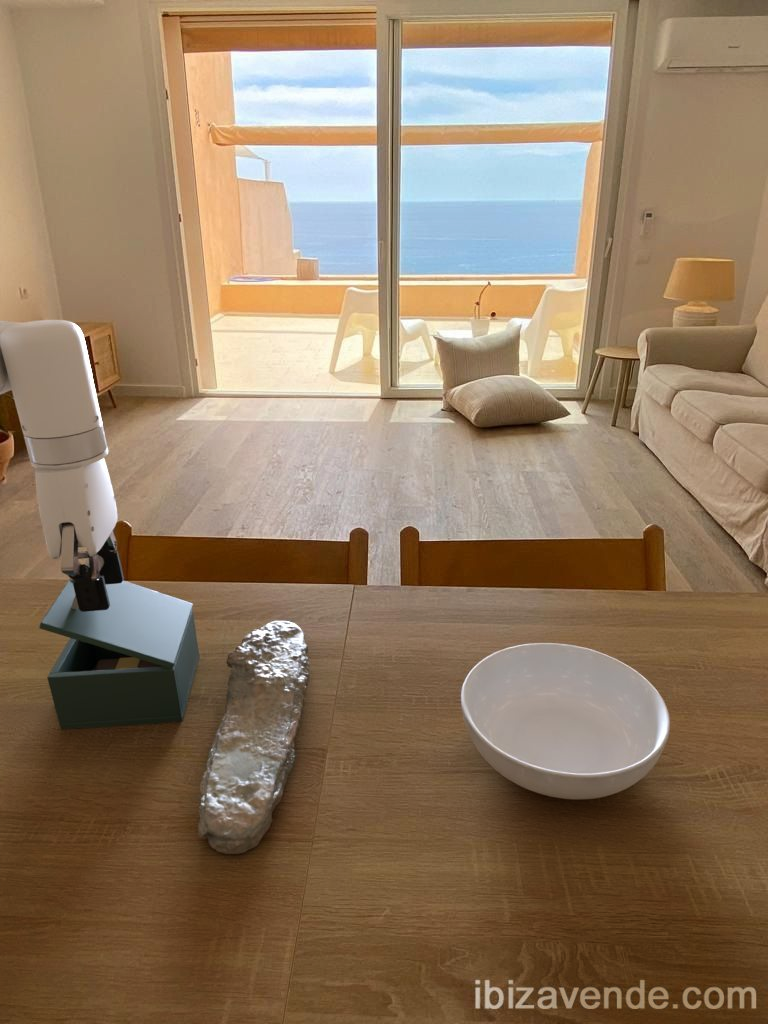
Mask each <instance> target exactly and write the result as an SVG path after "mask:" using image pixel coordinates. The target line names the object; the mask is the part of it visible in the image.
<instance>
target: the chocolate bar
mask: <svg viewBox="0 0 768 1024" xmlns="http://www.w3.org/2000/svg"><path fill="white" fill-rule="evenodd" d="M147 667H163V666H161V665H157V664H154V663H151V662H148V661H144V660H141V659H138V658H135V657H128V658H120V659H104V660H99V662H98V664H97V666H96V668H95V670H94V671H98V670H115V669H131V668H147Z"/></svg>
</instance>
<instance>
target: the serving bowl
mask: <svg viewBox="0 0 768 1024" xmlns="http://www.w3.org/2000/svg"><path fill="white" fill-rule="evenodd" d="M460 704H461V711H462V717H463V721H464V725H465V728H466V731H467V733H468V736H469V738H470V740H471V742H472V744H473V745H474V747H475V749H476V750H477V751H478V753H479V755H480V756H481V757H482V758H483V759H484V760H485V761H486V762H487V763H488V764H489V765H490V766H491V768H493V769H494V770H495V771H496V772H498V773H499V774H500V775H502V776H503V777H504V778H505V779H507V780H509V781H510V782H512V783H514V784H515V785H517V786H519V787H521V788H523V789H526V790H528V791H531V792H533V793H536V794H539V795H543V796H547V797H551V798H556V799H557V798H558V799H565V800H592V799H601V798H604V797H608V796H611V795H614V794H617V793H620V792H622V791H624V790H627V789H628V788H630V787H632V786H633V785H635V784H637V783H638V782H639V781H641V780H642V779H643V778H644V777H645V776H646V775H648V773H649V772H650V771H651V770H652V769H653V768H654V766H655V765H656V764H657V762H658V761H659V759H660V757H661V755H662V753H663V751H664V750H665V747H666V744H667V742H668V740H669V736H670V732H671V719H670V713H669V710H668V707H667V704H666V702H665V700H664V699H663V697H662V696H661V694H660V693H659V691H658V690H657V689H656V687H655V686H654V685H653V684H652V683H651V682H650V681H649V680H648V679H647V678H645V676H643V675H642V674H641V673H639V671H637V670H636V669H634V668H632V667H631V666H630V665H627V664H626V663H624V662H623V661H620V660H618V659H617V658H614V657H612V656H609V655H607V654H605V653H603V652H599V651H597V650H594V649H591V648H587V647H583V646H578V645H573V644H565V643H554V642H553V643H552V642H538V643H537V642H536V643H525V644H519V645H514V646H510V647H506V648H504V649H501V650H498V651H496V652H493V653H492V654H489V655H488V656H486V657H484V658H483V659H481V660H480V661H479V662H478V663H477V664H475V665H474V667H472V669H471V670H470V671H469V673H468V674H467V676H466V677H465V679H464V682H463V684H462V687H461V693H460Z"/></svg>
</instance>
